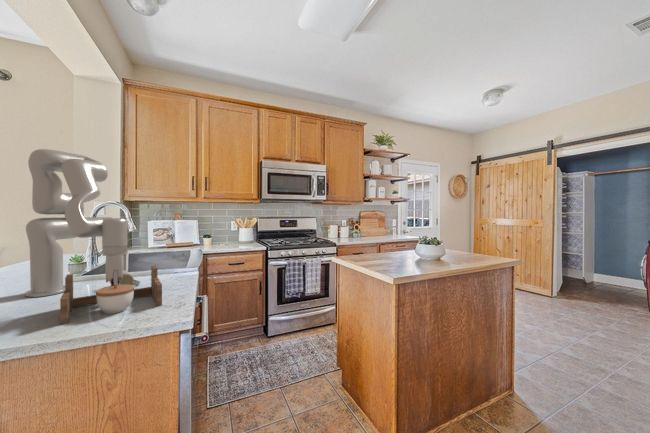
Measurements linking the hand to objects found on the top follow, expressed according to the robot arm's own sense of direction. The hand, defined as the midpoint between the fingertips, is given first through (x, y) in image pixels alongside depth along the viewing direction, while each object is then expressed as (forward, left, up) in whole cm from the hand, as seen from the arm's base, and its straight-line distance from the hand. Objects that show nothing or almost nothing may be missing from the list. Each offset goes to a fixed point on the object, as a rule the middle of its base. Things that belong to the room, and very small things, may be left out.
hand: (115, 297), depth 101 cm
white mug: (-22, +4, -2) cm, 23 cm away
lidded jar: (+9, 0, -2) cm, 10 cm away
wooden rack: (+5, 0, -2) cm, 5 cm away
